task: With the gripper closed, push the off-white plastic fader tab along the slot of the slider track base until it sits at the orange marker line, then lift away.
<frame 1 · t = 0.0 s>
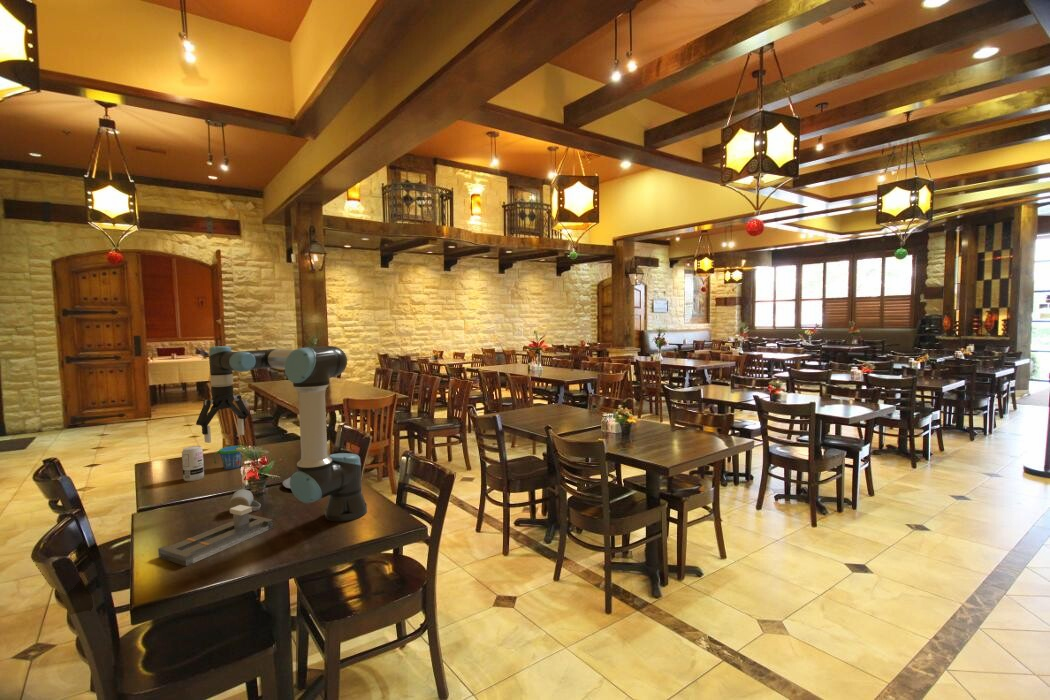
hand: (225, 438, 196), 28 cm above the table, fingers open, 13 cm apart
snack cup: (232, 468, 252), on the table
ceramic mug: (245, 511, 194), on the table
food plate: (313, 483, 226), on the table
slider track base: (219, 541, 166), on the table
supplement can: (194, 479, 234), on the table
fader tab: (241, 517, 173), point 5 cm above the table, slide at -8.0 cm
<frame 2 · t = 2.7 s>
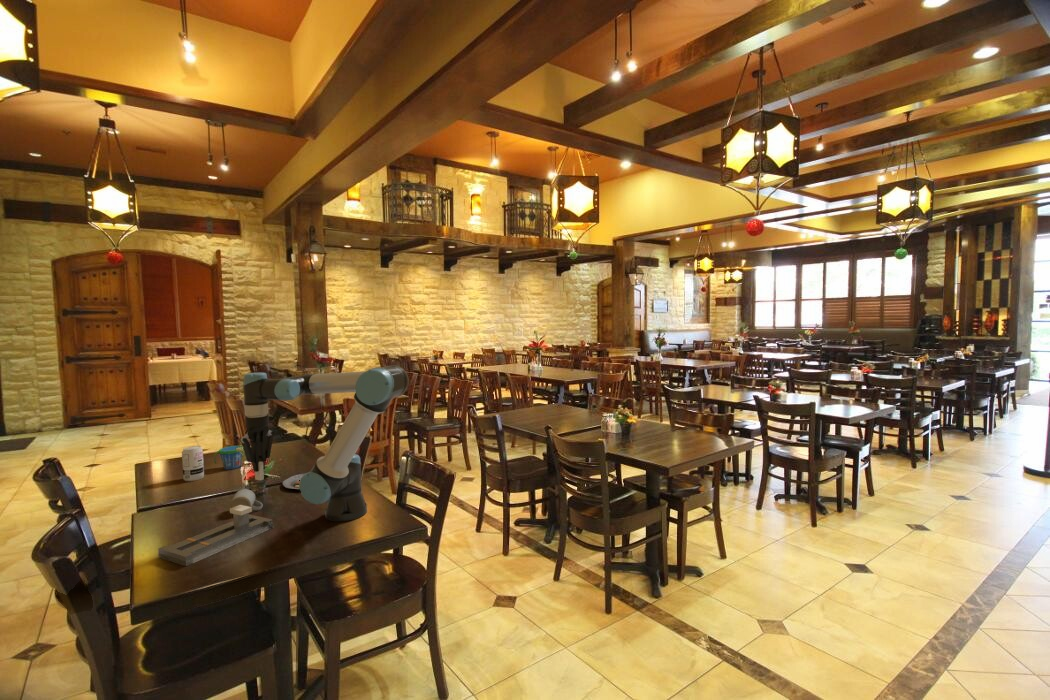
hand: (259, 479, 180), 17 cm above the table, fingers closed
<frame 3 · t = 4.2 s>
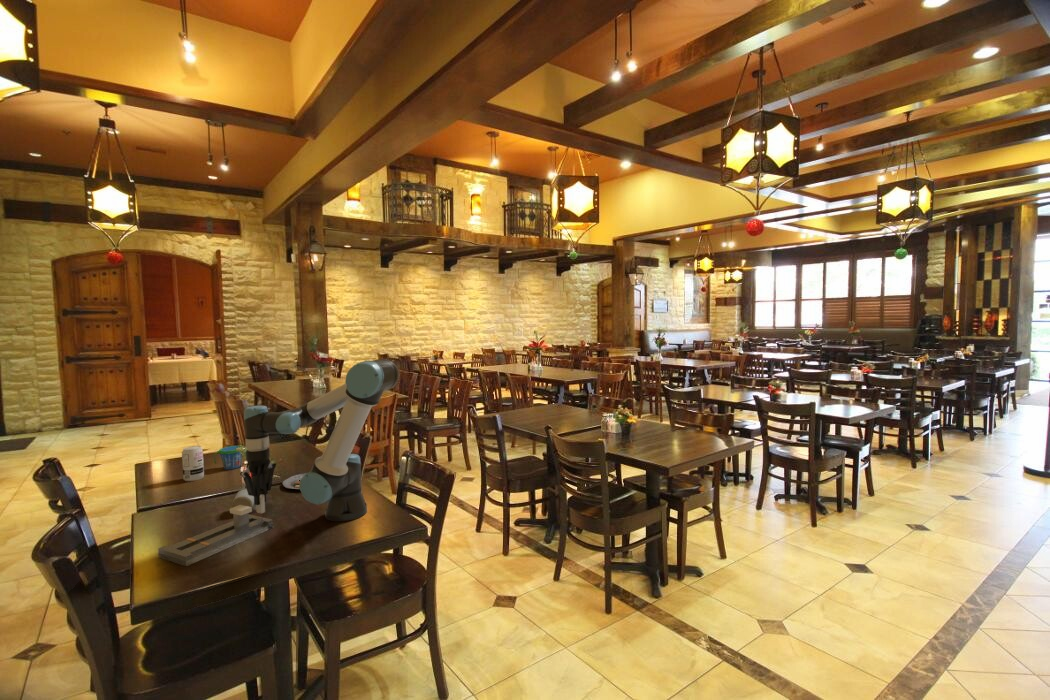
hand: (260, 512, 180), 4 cm above the table, fingers closed
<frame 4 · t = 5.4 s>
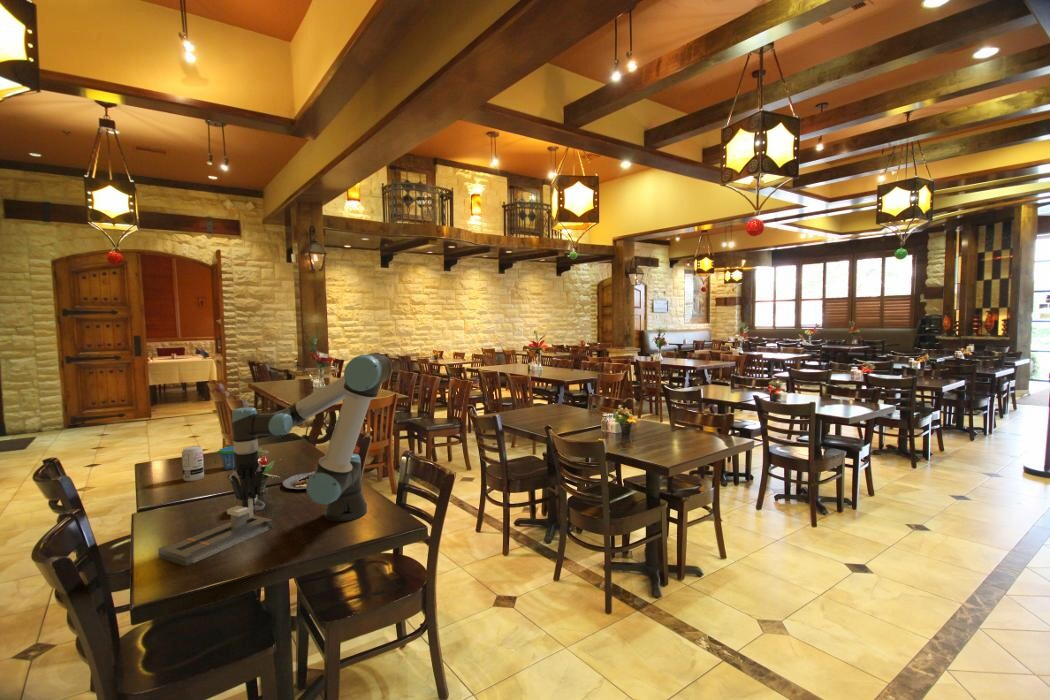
hand: (249, 516, 176), 5 cm above the table, fingers closed
fader tab: (238, 518, 172), point 5 cm above the table, slide at -7.0 cm, touching gripper
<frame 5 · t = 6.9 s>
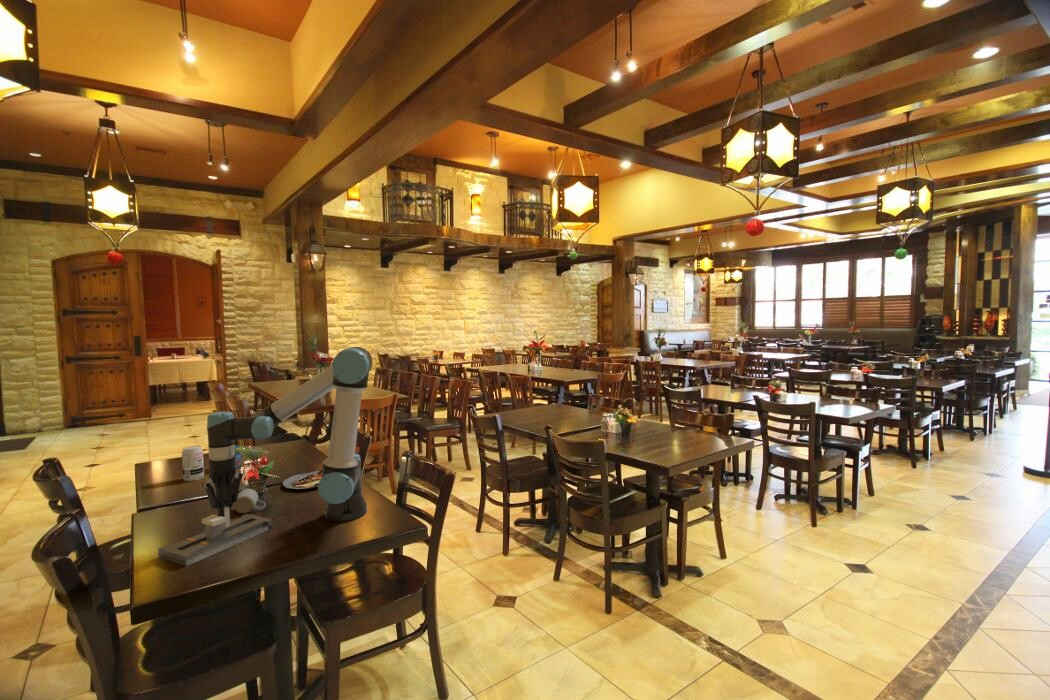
hand: (225, 525, 168), 5 cm above the table, fingers closed
fader tab: (214, 528, 165), point 5 cm above the table, slide at 1.7 cm, touching gripper
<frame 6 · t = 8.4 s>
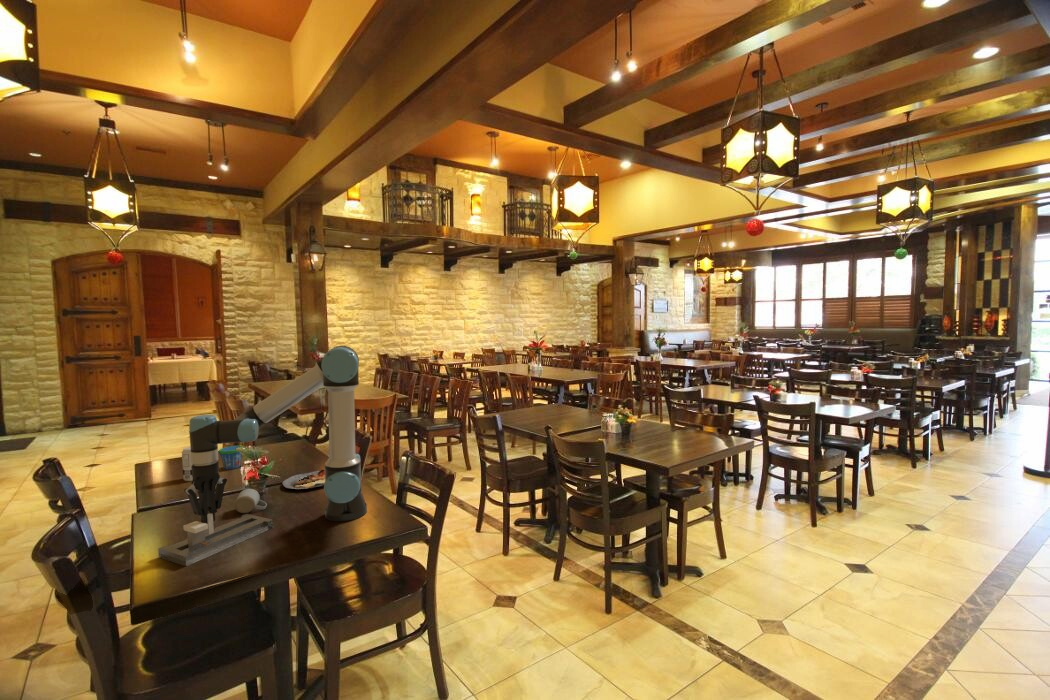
hand: (208, 532, 163), 5 cm above the table, fingers closed
fader tab: (196, 535, 159), point 5 cm above the table, slide at 7.4 cm, touching gripper
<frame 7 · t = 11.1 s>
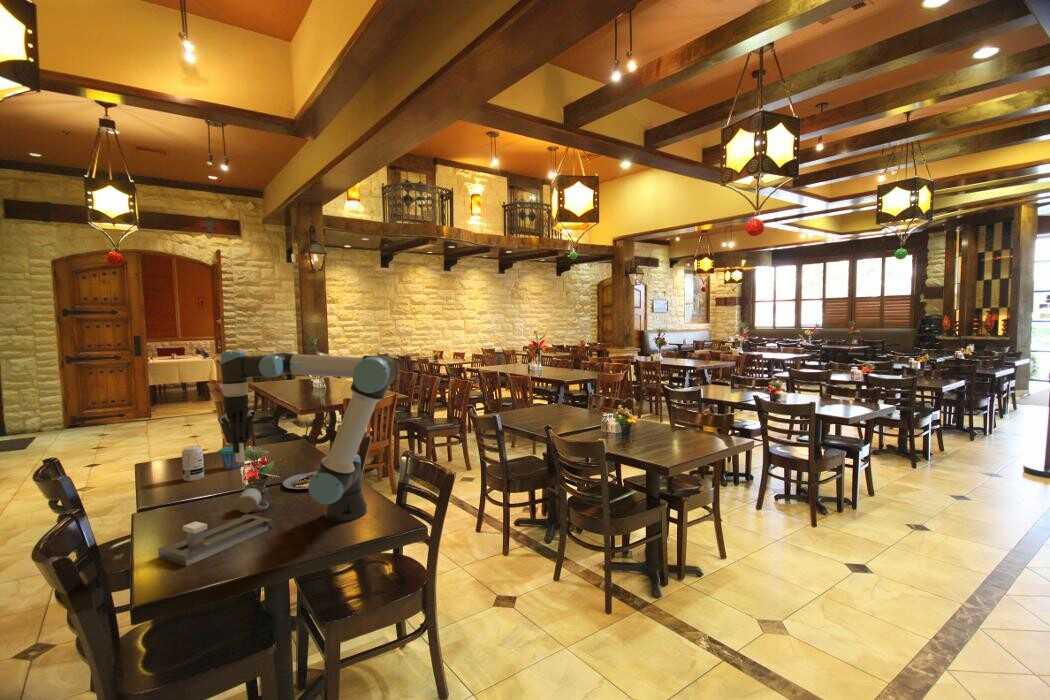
hand: (240, 461, 174), 25 cm above the table, fingers closed
fader tab: (195, 535, 159), point 5 cm above the table, slide at 7.6 cm
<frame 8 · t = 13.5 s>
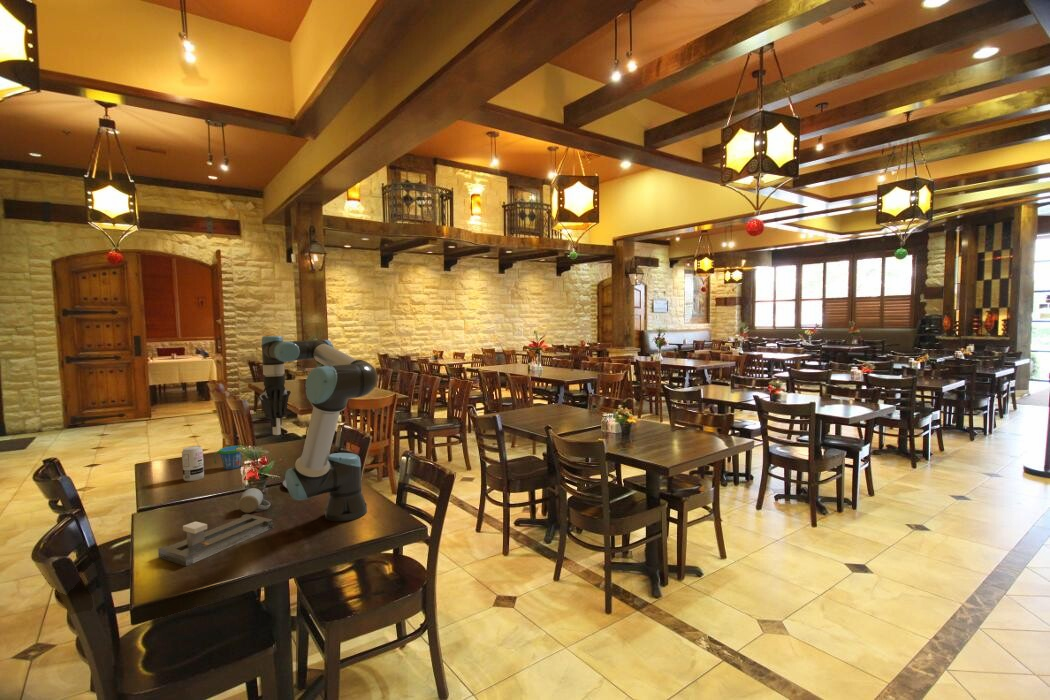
hand: (276, 434, 195), 29 cm above the table, fingers closed
at the end: fader tab slide at 7.6 cm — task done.
